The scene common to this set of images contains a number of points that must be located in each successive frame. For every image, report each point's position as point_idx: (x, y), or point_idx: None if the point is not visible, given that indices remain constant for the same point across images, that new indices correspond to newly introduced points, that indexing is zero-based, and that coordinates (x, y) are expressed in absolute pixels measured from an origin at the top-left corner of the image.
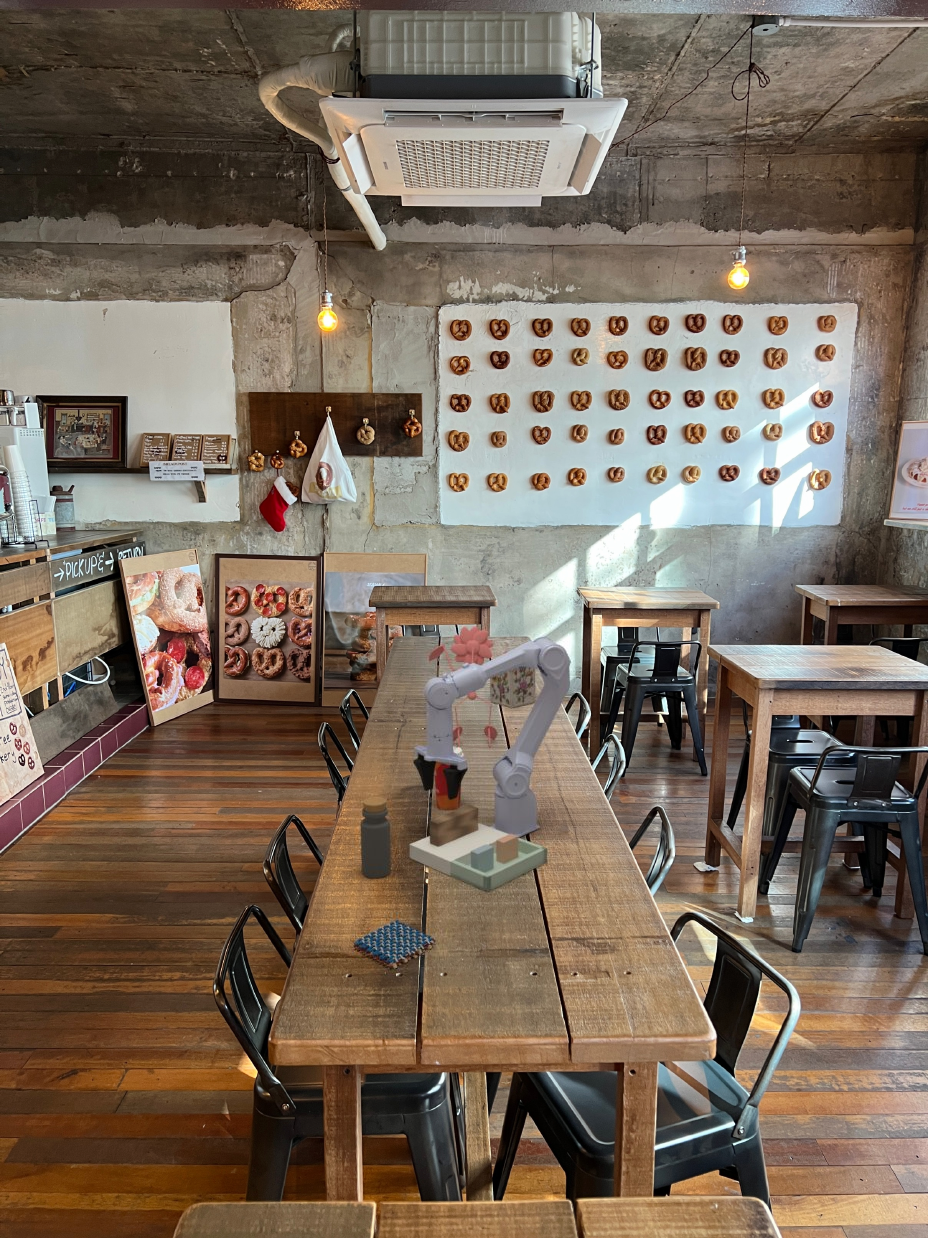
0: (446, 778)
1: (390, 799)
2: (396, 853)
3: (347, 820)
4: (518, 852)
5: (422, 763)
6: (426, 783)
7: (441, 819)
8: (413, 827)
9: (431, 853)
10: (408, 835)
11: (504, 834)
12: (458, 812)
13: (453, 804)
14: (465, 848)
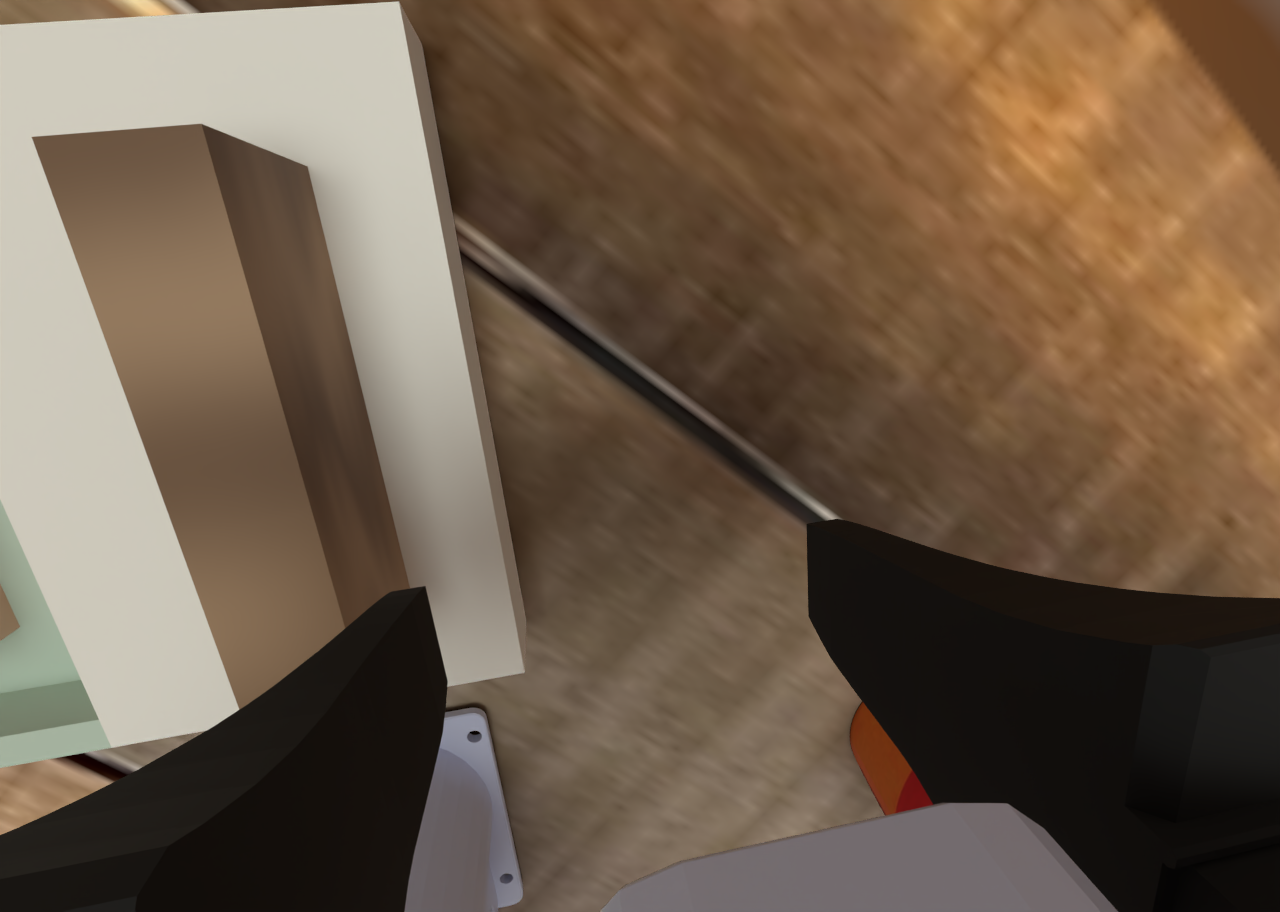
0: (256, 756)
1: (1217, 530)
2: (561, 21)
3: (1227, 122)
4: (17, 675)
5: (1126, 731)
6: (851, 573)
7: (155, 270)
8: (827, 401)
9: (82, 22)
10: (753, 298)
11: (141, 720)
12: (251, 543)
13: (866, 741)
14: (30, 342)
